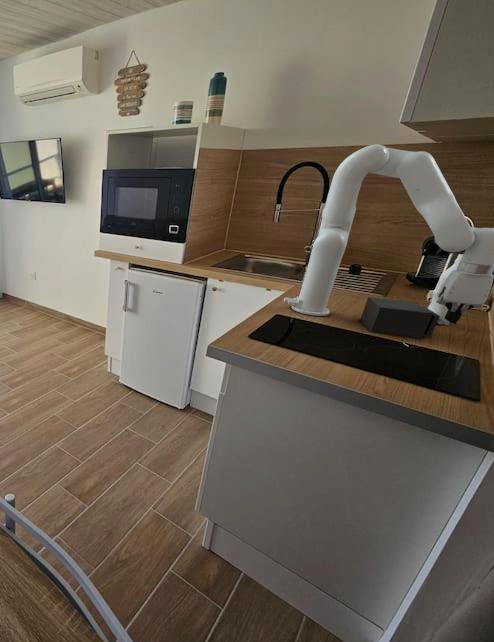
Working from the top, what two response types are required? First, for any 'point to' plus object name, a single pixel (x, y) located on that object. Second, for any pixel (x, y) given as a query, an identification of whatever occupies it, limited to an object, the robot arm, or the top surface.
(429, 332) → the drawer
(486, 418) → the top surface
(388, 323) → the dark grey rectangular box
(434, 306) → the water bottle
